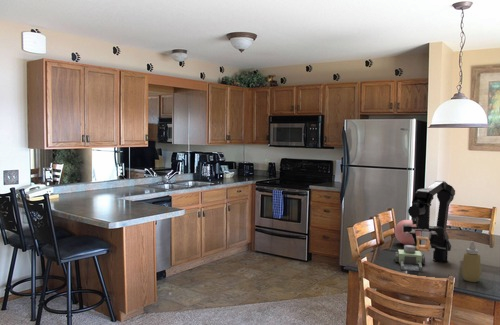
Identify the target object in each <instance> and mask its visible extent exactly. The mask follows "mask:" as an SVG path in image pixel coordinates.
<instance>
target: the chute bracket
mask: <svg viewBox="0 0 500 325" xmlns="http://www.w3.org/2000/svg"><path fill="white" fill-rule="evenodd" d="M399 265H400V270H401V271H409V272H418V273H419V272H421V273H423V264H422V265H421V262H420V261H418V264H411V263H403V260H400V263H399Z"/></svg>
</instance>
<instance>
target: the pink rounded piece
mask: <svg viewBox="0 0 500 325" xmlns="http://www.w3.org/2000/svg"><path fill="white" fill-rule="evenodd" d="M404 224H405V225H411V226H412V227H416V224H412V219H403V220H400V221H399V222H398V223H397V224H396V225H395V228H394V235H395V239H396V240H397V241H398V242H399V243H401V244H402V245H412V246H414V245H415V243H414V239H413V236H412V234H409V232H403V230H402V227H403V225H404ZM422 232H423V231H415V233H416V236H418V237H422V235H423V234H422Z"/></svg>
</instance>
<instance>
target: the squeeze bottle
mask: <svg viewBox="0 0 500 325" xmlns="http://www.w3.org/2000/svg"><path fill="white" fill-rule="evenodd" d="M461 265H462V266H461V274H462V277H463V280H464V281H466V282H469V283H470V282H471V283H476V282H477V283H478V282H479V280H480V277H481V275H482V264H481V255H480V254H479V250H478V249H477V248H476V245H475V241H474V240H473V241H472V240H471V241H470V244H469V247H467V248H466V252H464V254H463V259H462V264H461Z"/></svg>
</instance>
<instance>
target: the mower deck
mask: <svg viewBox="0 0 500 325" xmlns="http://www.w3.org/2000/svg"><path fill="white" fill-rule="evenodd" d="M397 250H398V251H394V262H395V263H398V264H400V260H403V263H411V264H418V261H420V262H421V265H422V266H423V265H426V257H425V254H424V253H422V251H418V250H416V247H415V245H405V244H403V249H397Z"/></svg>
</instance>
